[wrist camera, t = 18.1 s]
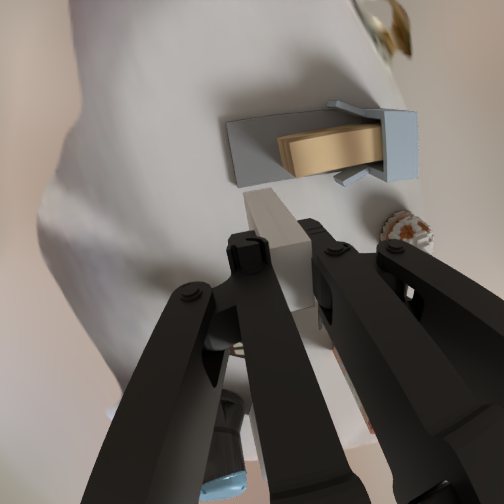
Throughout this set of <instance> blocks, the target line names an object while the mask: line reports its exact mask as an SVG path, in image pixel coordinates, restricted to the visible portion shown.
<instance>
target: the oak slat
mask: <svg viewBox="0 0 504 504" xmlns="http://www.w3.org/2000/svg"><path fill="white" fill-rule="evenodd" d="M277 142H278V146H279V151H280V155H281V160H282V165H283V168H284V169H285V170H287V171H288V172H289V173H290V174H292V175H293V176H294V177H295V178H299V177H304V176H308V175H312V174H317V173H321V172H326V171H330V170H335V169H340V168H344V167H349V166H354V165H359V164H364V163H369V162H374V161H380V160H383V140H382V125H381V122H374V121H372V122H364V123H357V124H350V125H343V126H337V127H331V128H325V129H319V130H313V131H308V132H303V133H298V134H293V135H288V136H283V137H279V138H277Z"/></svg>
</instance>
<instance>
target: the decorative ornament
mask: <svg viewBox="0 0 504 504" xmlns="http://www.w3.org/2000/svg"><path fill="white" fill-rule="evenodd" d="M380 237H381V241H383V240H387V239H398V240H402V241H405V242H408V243H409V244H411V245H413V246H415V247H417V248H419V249H420V250H422V251H424V252H426V253H428V254H429V255H431V254H432V253H433V247H434V235H433V232H432V230H431V227H430V226H429V225H427V224H426V223H425V222H424V221H422V220H421V219H420V218H419V217H415V216H414V215H413V214H411V212H407V213H406V211H405V210H403V211H400V212H397V213H394V217H391V218H388V222H386V226H383V233H381V234H380ZM431 256H432V255H431Z"/></svg>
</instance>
